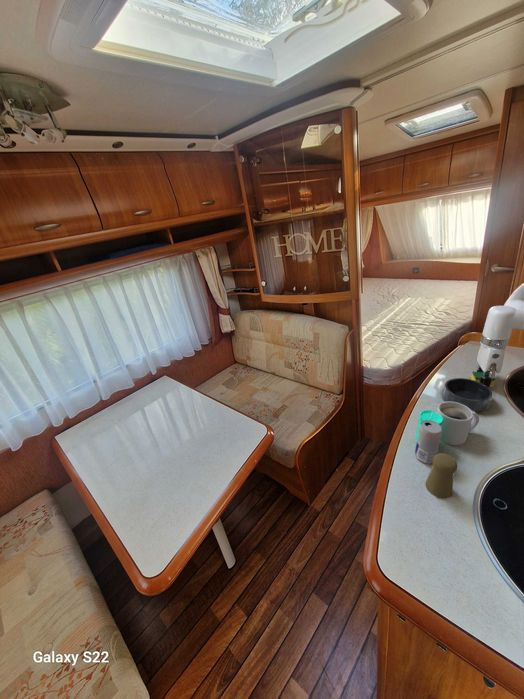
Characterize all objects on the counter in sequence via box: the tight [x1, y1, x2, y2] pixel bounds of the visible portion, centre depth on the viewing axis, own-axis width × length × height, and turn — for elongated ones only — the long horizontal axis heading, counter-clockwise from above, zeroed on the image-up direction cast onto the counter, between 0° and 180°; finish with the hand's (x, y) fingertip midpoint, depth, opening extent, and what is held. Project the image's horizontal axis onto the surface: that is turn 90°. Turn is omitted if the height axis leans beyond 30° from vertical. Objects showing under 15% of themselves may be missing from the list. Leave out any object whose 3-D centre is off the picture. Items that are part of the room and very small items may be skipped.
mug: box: [436, 401, 480, 446], centre depth 84 cm, size 11×10×10 cm
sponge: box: [470, 371, 496, 388], centre depth 104 cm, size 6×4×4 cm
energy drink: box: [414, 420, 442, 464], centre depth 78 cm, size 5×5×12 cm
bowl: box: [442, 377, 493, 414], centre depth 97 cm, size 14×14×6 cm
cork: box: [425, 452, 459, 499], centre depth 69 cm, size 6×6×11 cm
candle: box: [415, 409, 443, 444], centre depth 82 cm, size 6×6×12 cm
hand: (481, 382), depth 105 cm, fingers closed on sponge, 4 cm apart
